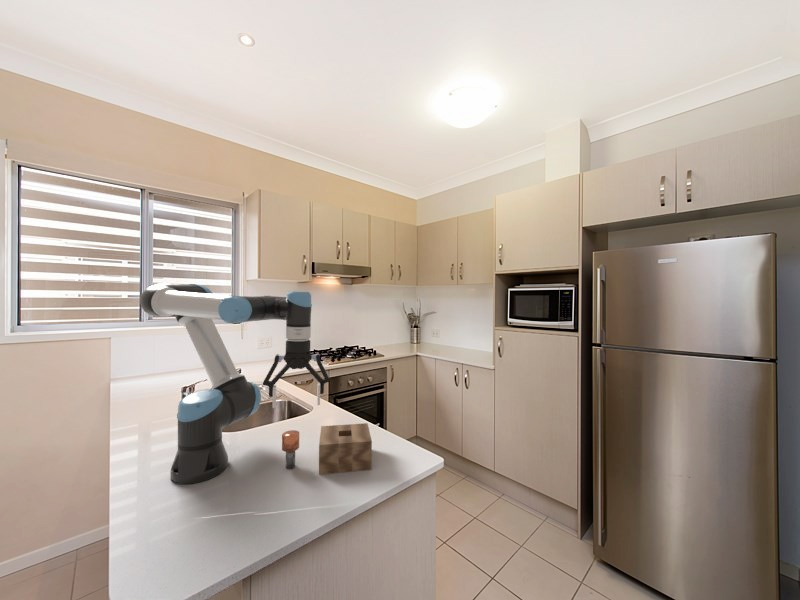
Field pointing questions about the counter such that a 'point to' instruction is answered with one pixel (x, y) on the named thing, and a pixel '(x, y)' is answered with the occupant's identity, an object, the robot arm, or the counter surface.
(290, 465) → the copper cylinder with shaft
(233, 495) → the counter surface
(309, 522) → the counter surface
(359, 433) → the hitch block
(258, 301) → the robot arm
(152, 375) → the counter surface
